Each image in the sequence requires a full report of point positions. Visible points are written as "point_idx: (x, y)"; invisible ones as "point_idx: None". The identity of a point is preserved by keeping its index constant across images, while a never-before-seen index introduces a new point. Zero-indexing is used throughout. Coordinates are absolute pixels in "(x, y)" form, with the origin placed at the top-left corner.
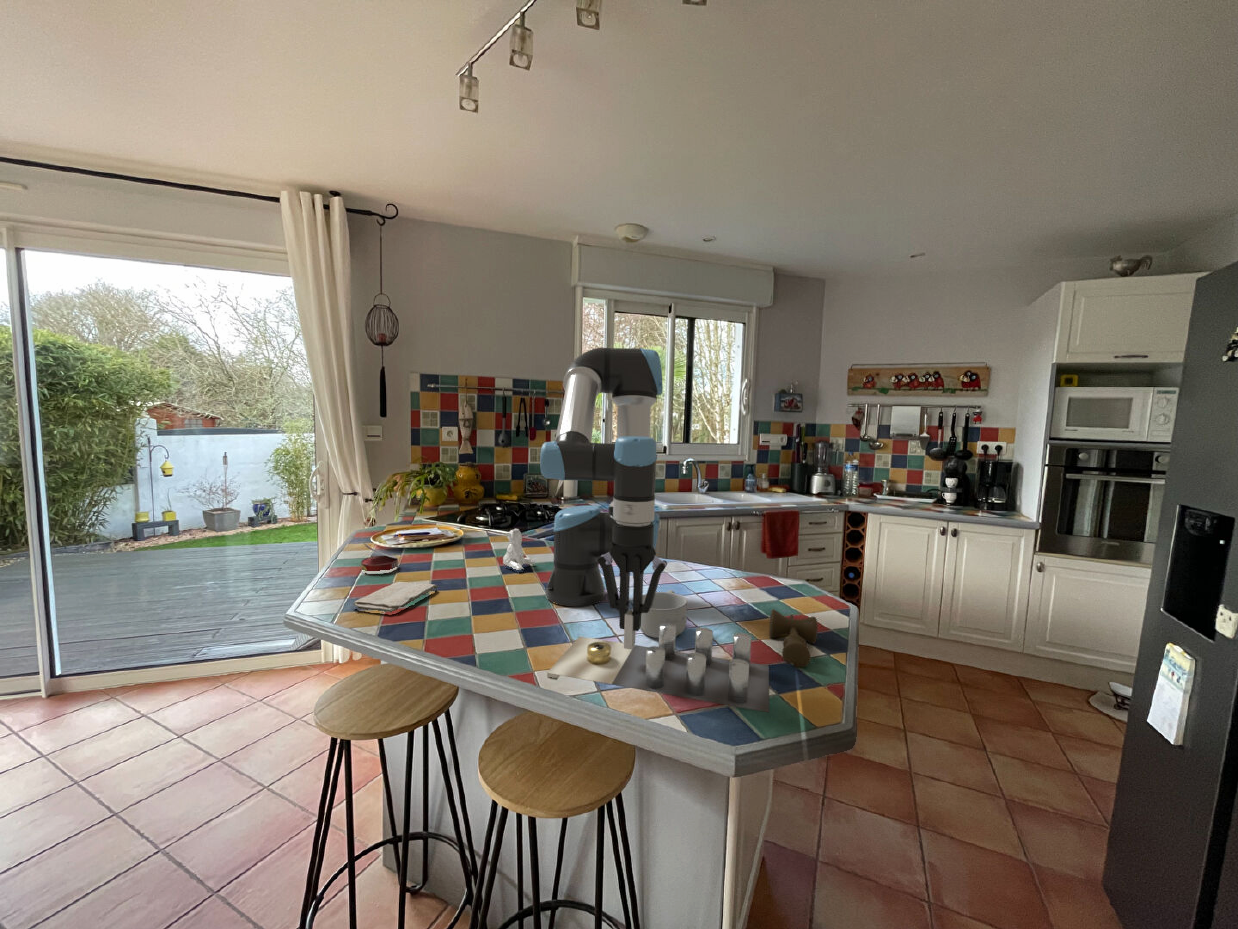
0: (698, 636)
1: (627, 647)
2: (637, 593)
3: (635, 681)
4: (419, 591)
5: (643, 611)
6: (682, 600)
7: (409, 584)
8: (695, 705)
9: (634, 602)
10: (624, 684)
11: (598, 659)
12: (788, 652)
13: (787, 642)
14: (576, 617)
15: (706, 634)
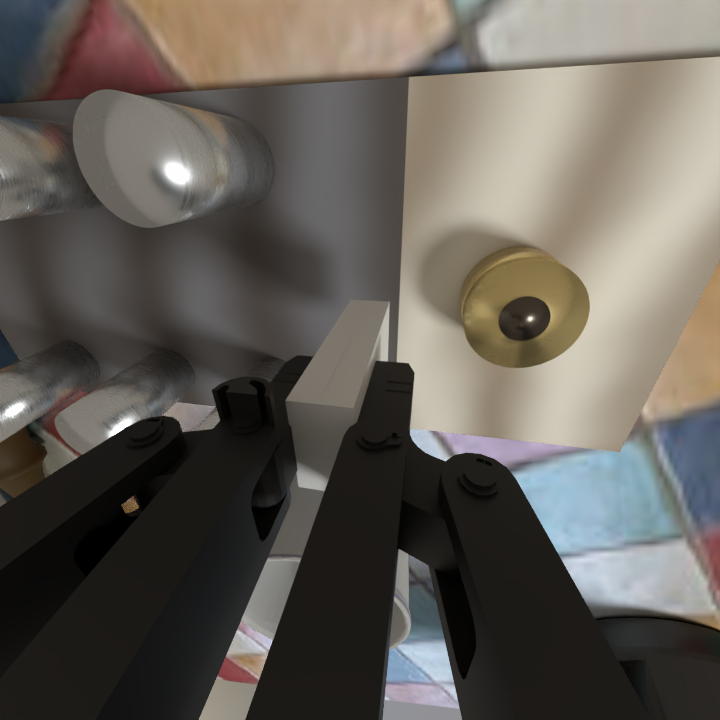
0: (103, 409)
1: (370, 303)
2: (79, 629)
3: (313, 153)
4: None
5: (174, 426)
6: (258, 613)
7: None
8: (77, 91)
9: (209, 501)
10: (349, 101)
11: (511, 254)
12: None
13: (7, 464)
14: (631, 567)
15: (61, 412)
